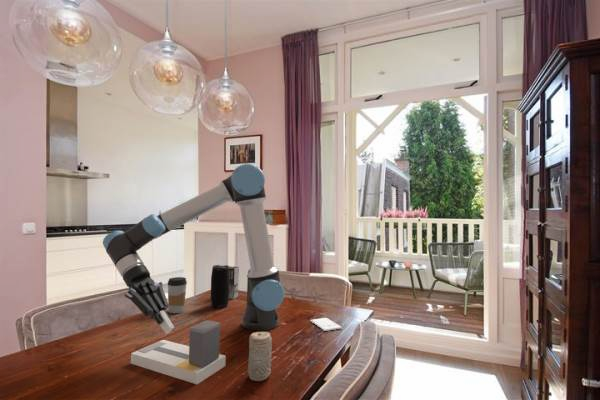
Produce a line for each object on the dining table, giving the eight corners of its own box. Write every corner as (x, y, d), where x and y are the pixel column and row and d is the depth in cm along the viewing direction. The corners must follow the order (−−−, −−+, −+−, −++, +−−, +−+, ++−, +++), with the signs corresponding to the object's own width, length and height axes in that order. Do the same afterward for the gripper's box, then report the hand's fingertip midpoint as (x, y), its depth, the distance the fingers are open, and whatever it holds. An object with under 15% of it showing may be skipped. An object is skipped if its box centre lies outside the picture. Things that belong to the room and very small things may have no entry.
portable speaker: (230, 304, 164) (231, 264, 164) (225, 309, 154) (226, 267, 155) (213, 303, 164) (215, 264, 165) (207, 308, 155) (209, 267, 156)
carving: (244, 382, 89) (245, 338, 89) (253, 369, 96) (254, 328, 97) (266, 385, 88) (267, 340, 88) (273, 372, 95) (274, 330, 96)
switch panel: (130, 363, 99) (131, 352, 99) (162, 348, 110) (163, 339, 110) (196, 384, 88) (197, 372, 88) (225, 365, 98) (225, 355, 99)
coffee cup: (179, 315, 144) (180, 281, 145) (162, 313, 146) (163, 280, 147) (189, 309, 153) (190, 277, 153) (173, 308, 154) (174, 276, 155)
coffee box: (238, 296, 179) (239, 266, 180) (233, 299, 173) (234, 268, 173) (222, 295, 181) (223, 265, 181) (217, 298, 174) (218, 267, 175)
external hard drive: (326, 321, 143) (342, 330, 131) (310, 323, 139) (324, 333, 128) (326, 317, 143) (342, 326, 131) (310, 319, 139) (324, 329, 128)
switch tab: (188, 363, 92) (189, 327, 93) (205, 353, 99) (206, 320, 99) (202, 367, 90) (203, 330, 90) (219, 357, 97) (220, 322, 97)
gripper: (144, 275, 115) (179, 330, 107) (109, 282, 103) (145, 345, 95) (155, 261, 113) (192, 316, 105) (121, 266, 101) (159, 330, 93)
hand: (169, 330), depth 100 cm, fingers closed
